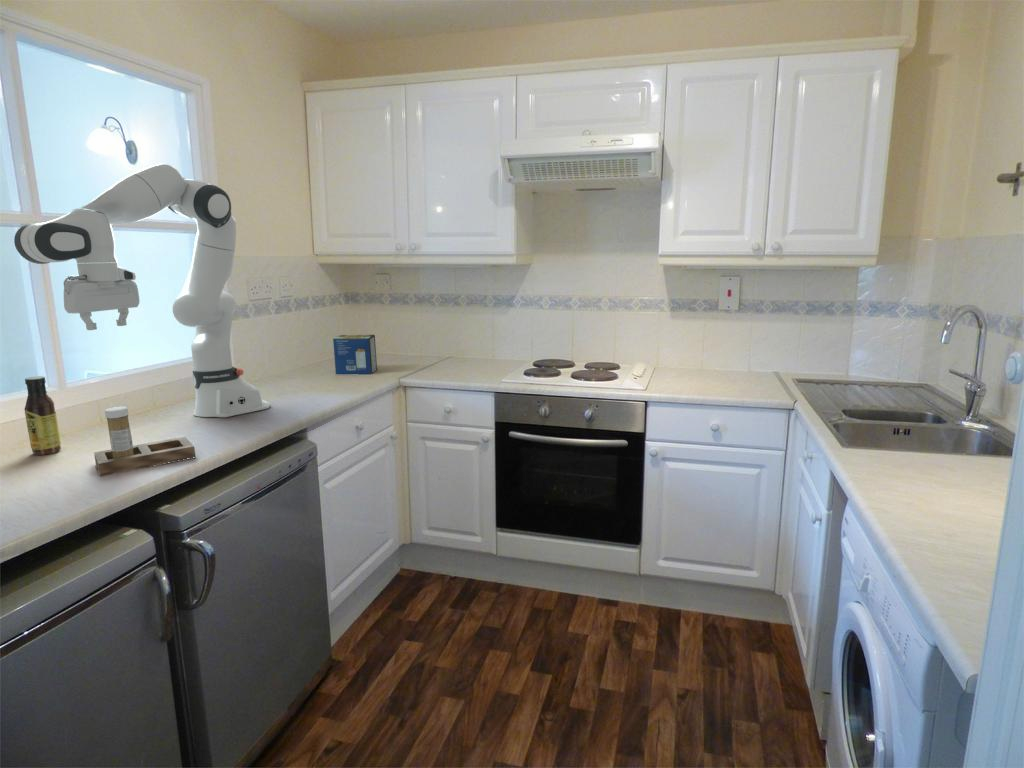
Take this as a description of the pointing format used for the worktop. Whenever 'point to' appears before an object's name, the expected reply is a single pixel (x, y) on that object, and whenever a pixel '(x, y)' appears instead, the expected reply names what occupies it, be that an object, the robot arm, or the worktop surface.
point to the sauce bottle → (41, 418)
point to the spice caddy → (145, 456)
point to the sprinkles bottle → (119, 431)
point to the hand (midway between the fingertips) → (107, 327)
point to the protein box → (355, 354)
